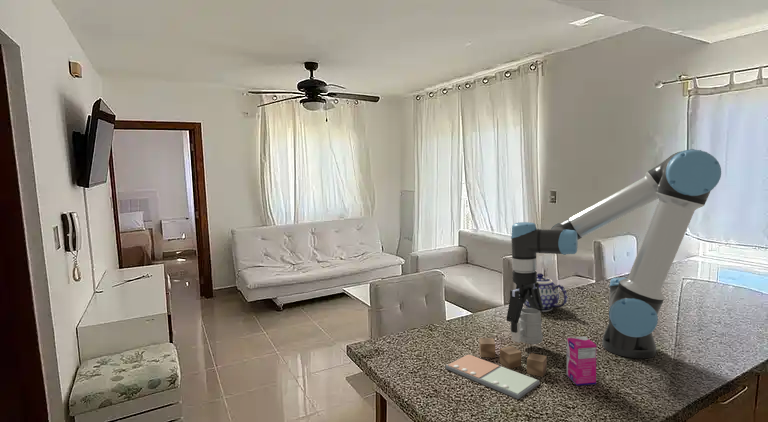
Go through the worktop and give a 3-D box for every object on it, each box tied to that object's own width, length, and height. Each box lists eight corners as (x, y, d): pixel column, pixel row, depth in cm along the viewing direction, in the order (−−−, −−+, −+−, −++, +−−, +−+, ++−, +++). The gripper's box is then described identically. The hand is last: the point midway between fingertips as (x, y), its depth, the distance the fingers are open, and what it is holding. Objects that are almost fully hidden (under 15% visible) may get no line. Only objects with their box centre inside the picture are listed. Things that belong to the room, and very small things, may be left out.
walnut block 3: (546, 370, 126) (546, 356, 125) (542, 377, 122) (543, 362, 121) (530, 367, 128) (531, 352, 128) (526, 373, 124) (526, 358, 124)
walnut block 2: (521, 366, 129) (521, 351, 128) (509, 369, 127) (509, 354, 127) (511, 360, 133) (511, 346, 133) (499, 362, 131) (499, 348, 131)
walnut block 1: (493, 351, 139) (493, 338, 139) (495, 357, 135) (495, 344, 134) (479, 351, 140) (479, 338, 140) (480, 357, 136) (480, 343, 135)
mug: (548, 341, 139) (547, 305, 138) (519, 349, 135) (518, 311, 134) (531, 334, 146) (531, 299, 145) (503, 340, 142) (502, 305, 141)
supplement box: (565, 375, 122) (566, 337, 121) (585, 374, 123) (586, 335, 121) (576, 386, 116) (577, 345, 115) (597, 384, 117) (598, 344, 116)
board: (539, 384, 118) (539, 379, 118) (518, 399, 111) (518, 394, 110) (468, 357, 136) (468, 353, 136) (445, 368, 128) (445, 364, 128)
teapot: (577, 313, 173) (578, 277, 172) (552, 320, 166) (553, 283, 164) (528, 297, 195) (529, 265, 193) (504, 303, 187) (504, 270, 186)
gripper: (532, 262, 149) (533, 323, 151) (493, 276, 133) (495, 343, 135) (553, 265, 144) (554, 328, 145) (515, 279, 128) (516, 350, 130)
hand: (525, 336), depth 140 cm, fingers closed on mug, 11 cm apart
